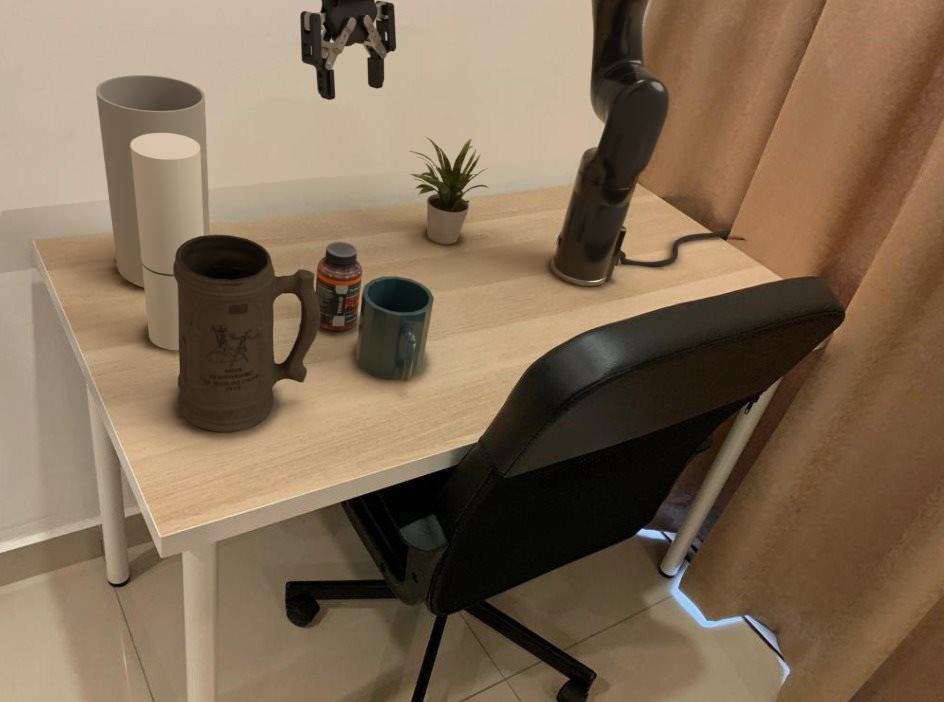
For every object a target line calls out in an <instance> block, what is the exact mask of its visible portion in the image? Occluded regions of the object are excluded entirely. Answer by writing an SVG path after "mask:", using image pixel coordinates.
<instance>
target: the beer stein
mask: <svg viewBox="0 0 944 702" xmlns="http://www.w3.org/2000/svg"><path fill="white" fill-rule="evenodd" d="M173 274H174V277H175V279H176V281H177V283H178V315H179V350H178V363H179V365H178V366H179V373H178V377H177V388H178V389H179V391H178V402H177V403H178V407H179V410H180V412H181V414H182V416H184V418H186V419H187V420H188V421H189V422H190V423H191V424H193V425H195V426H196V427H198V428H201V429H204V430H208V431H212V432H236V431H242V430H247V429H249V428H253V427H254V426H256V425H257V424H259V423H262V422H263V421H264V420H265V419H266V418H267V417H268V415H270V413H271V412H272V409H273V406H274V391H273V387H274V386H275V385H276V384H277V383H278V382H281V381H282V380H291V381H294V382H298V383H304V381H305V380H306V378H307V373H308V369H307V368H306V366H305V365H304V360H305V357H306V355H307V354H308V352H309V350H310V349H311V347H312V345H313V343H314V342H315V340H316V338H317V335H318V331H319V329H320V318H321V315H320V307H319V302H318V299H317V296H316V289H315V283H314V282H315V273H314V272H312V271H311V270H307V269H304V268H303V269H298V270H297V271H296V272H294V273H293V274H290V275H280V276H277V275H276V272H275V269H274V265H273V261H272V257H271V255H270V252H268V250H267V249H266V248H265V247H263V246H262V245H261V244H258V243H257V242H255V241H253V240H250V239H249V238H245V237H241V236H235V235H229V234H210V235H206V236H199V237H196V238H193V239H190V240H188V241H186V242H185V243H183V244H182V245H181V246H180V247H179V248H178V249H177V252H176V256H175V262H174V266H173ZM283 294H284V295H286V294H293V295H295V296H296V297H297V299H298V301H299V302H300V311H301V312H300V323H299V327H298V331H297V335H296V338H295V341H294V343H293V345H292V348H291V350H290V351H289V354H288V355H287V357H286V358H285V359H284V361H283V362H281V363H277V362H276V361H275V353H274V323H275V322H274V320H275V319H274V303H275V301H276V299H277V298H278V297H279V296H281V295H283Z"/></svg>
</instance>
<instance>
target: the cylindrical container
mask: <svg viewBox="0 0 944 702" xmlns="http://www.w3.org/2000/svg"><path fill="white" fill-rule="evenodd" d="M130 146H131V157H132V167H133V177H134V187H135V198H136V208H137V218H138V229H139V239H140V249H141V259H142V269H143V279H144V287H143V289H144V298H145V308H146V319H147V320H146V321H147V330H148V338H149V340H150V341H151V343H152V344H154V345H155V346H157V347H159V348H161V349H164V350H169V351H179V315H178V283H177V281H176V279H175V277H174V274H173V266H174V262H175V256H176V252H177V249H178V248H179V247H180V246H181V245H182V244H183V243H185V242H186V241H188V240H190V239H193V238H196V237H199V236H204V227H203V202H202V177H201V152H200V145H199V143H197V142H196V141H195V140H193V139H191V138H189V137H186V136H183V135H178V134H172V133H151V134H145V135H142V136H138V137H137V138H135V139H133V140H132V141H131V143H130Z"/></svg>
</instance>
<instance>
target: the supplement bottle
mask: <svg viewBox="0 0 944 702" xmlns="http://www.w3.org/2000/svg"><path fill="white" fill-rule="evenodd" d="M357 259H358V249H357V248H356V246H354V245H353V244H351V243H348V242H344V241H334V242H330V243H329V244H327V246H326V248H325V254H324V256H323V257H322V258H321V259H320V260H319V261H318V263H317V267H316V281H315V293H316V296H317V299H318V302H319V307H320V315H321V318H320V325H319V327H321V328H323V329H325V330H329V331H333V332H342V331H343V332H344V331H348V330H350V329H351V328H353V327H354V326H355V325H356V323H357V320H358V314H359V303H360V297H361V296H360V294H361V287H362V276H363V267H362V264H361V263H360V262H359V261H358V260H357Z"/></svg>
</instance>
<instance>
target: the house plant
mask: <svg viewBox="0 0 944 702" xmlns="http://www.w3.org/2000/svg"><path fill="white" fill-rule="evenodd" d="M425 138H426V139H427V140H428V141H429V142H430V143H431V144H432V146H433V147H434V149H435V152H436V155H437V159H438V162H439V165H440V167H439V166H437V165H436V163H435V162H434V161H433V160H432V159H431V158H430V157H428V156H427V155H425V154H423V153H420V152H418V151H413V150H409V152H410V153H412V154H413V153H414V154H417V155H419V156H417V158H419V159H422V160H425V161H426V162H427V163H428V164H427V163H426V162H424V164H425V166H426V167H427V169H428V172H427V171H426V172H423V173H421V174H420V173H419V174H418V173H417V174H416V173H410V176H412V177H415V181H416V180H417V181H420V182H422V183H421V184H419V185H417V186H416V187H415V188H414V189H413V191H415V190H416V189H421V190H420V191H419V193H418V195H422V194H426V193H430V192H432V193H433V194H431V195H430V196H429V197H427V200H426V216H427V217H426V218H427V220H426V221H427V225H426V226H427V227H426V228H427V237H428V238H429V240H431V241H432V242H435V243H437V244H442V245H451V244H454V243H456V242H457V241H458V239H459V237H460V234H461V231H462V229H463V225H464V223H465V220H466V217H467V215H468V212H469V209H470V205H469V203H470V200H468V199H467V200H465V199H464V198H463V197H464V195H465V194H467V192H469V191H470V190H472V189H475V188H481V187H482V188H483V187H484V188H487V189H489V187H488V186H487V185H485V184H476V185H473V186H471V187H469V188H468V189H466V190H465V191H463V190H464V189H465V187H466V186H467V185H468V184H469V183H470V182H471V181H472V180H473V179H475V177H477V176H478V175H480V174H481V173H482V172H484V171H486V170H488V169H489V167H487V168H485V169H482V170H481V171H479V172H478V173H473V174H472V172H473V170H474V169H475V168H476V166H477V163H478V162H479V160H480V157H481V155H482V154H481V153H480V154H479V155H478V156H477V157H476V159H475V160H474V158H475V156H476V152H477V149H475V150H473V153H472V155H471V156H470V157H469V159H468V161H467V164H466V165H465V167H464V169H463V170H462V167H463V164H464V161H465V158H466V156H467V154H468V152H469V150H470V149H472V148H473V147H474V145H472V146H470V144H471V142H472V138H469V139H468V140H467V141H466V142H465V143H464V145H463V146H462V148H461V150H460V152H459V154H457V157H456V159H455V160H454V163H453V166H452V164H451V162H450V160H449V158H448V156H447V155H446V153H445V152H444V151H443V149H442V148H441V147H439V145H437V144H436V143H435V142H434V141H433V140H432V139H431V138H429V137H427V136H425ZM421 156H422V157H421ZM425 158H426V159H425ZM428 160H429V161H430V162H431V163H432V164H431V163H430V162H429V161H428ZM434 167H435V169H436V170H435V169H434ZM436 171H437V172H438V174H439V175H440V178H441V180H442V181H441V180H440V179H439V176H438V175H437V173H436ZM461 171H462V172H461ZM427 183H428V184H427ZM434 187H436V188H434ZM434 191H435V192H436V193H435V192H434Z"/></svg>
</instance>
